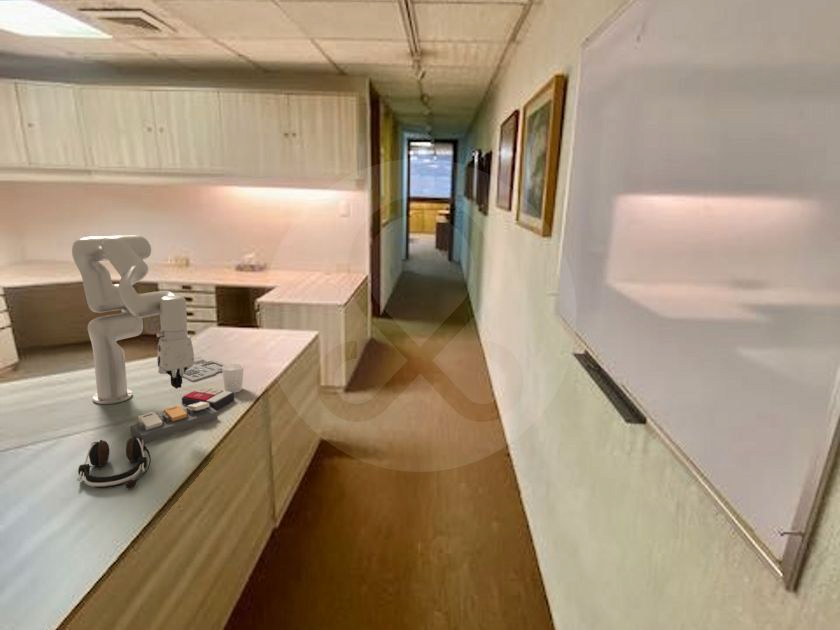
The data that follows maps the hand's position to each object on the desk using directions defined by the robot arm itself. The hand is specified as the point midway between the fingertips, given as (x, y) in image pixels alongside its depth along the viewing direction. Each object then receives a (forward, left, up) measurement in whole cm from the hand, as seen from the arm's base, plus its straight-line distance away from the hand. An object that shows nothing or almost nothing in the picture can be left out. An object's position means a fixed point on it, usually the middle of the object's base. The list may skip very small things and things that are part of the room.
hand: (176, 386), depth 157 cm
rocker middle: (-2, 0, -10) cm, 10 cm away
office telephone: (-46, +31, -16) cm, 58 cm away
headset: (+14, -24, -16) cm, 31 cm away
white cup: (-16, +30, -15) cm, 37 cm away
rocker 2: (-2, +8, -10) cm, 13 cm away
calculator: (-12, +17, -16) cm, 26 cm away
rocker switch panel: (-2, 0, -15) cm, 15 cm away
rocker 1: (-2, -8, -10) cm, 13 cm away
